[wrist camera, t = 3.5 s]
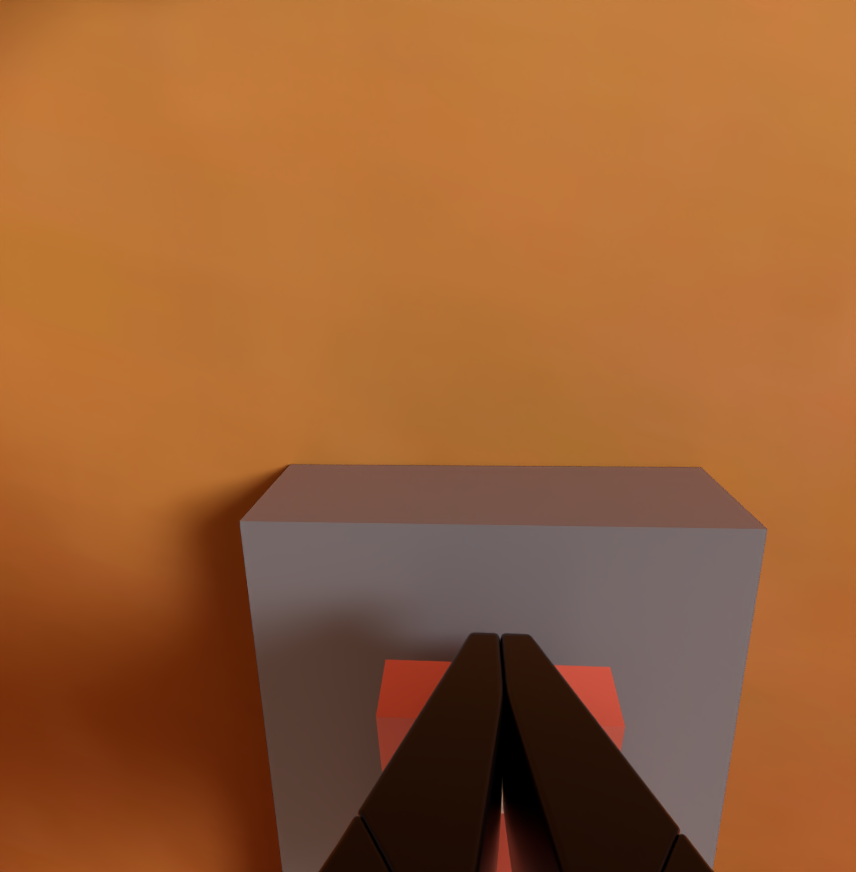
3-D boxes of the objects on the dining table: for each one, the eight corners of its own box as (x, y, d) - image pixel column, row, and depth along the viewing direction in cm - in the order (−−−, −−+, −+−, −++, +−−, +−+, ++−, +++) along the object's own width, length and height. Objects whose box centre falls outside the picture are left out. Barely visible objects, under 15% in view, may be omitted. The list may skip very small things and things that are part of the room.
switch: (576, 882, 12) (586, 948, 11) (405, 871, 12) (399, 935, 11) (610, 667, 9) (626, 731, 8) (385, 659, 9) (375, 721, 8)
